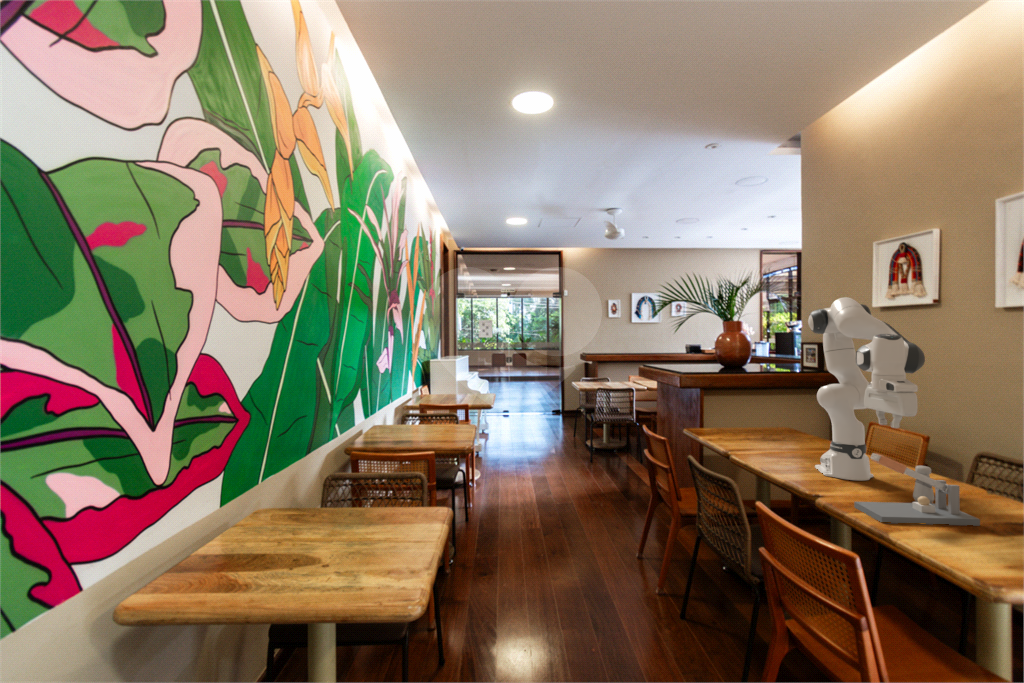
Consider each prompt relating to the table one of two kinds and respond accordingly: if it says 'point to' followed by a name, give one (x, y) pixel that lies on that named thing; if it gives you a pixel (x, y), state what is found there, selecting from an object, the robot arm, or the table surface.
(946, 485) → the lever
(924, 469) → the salt shaker
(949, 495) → the base
